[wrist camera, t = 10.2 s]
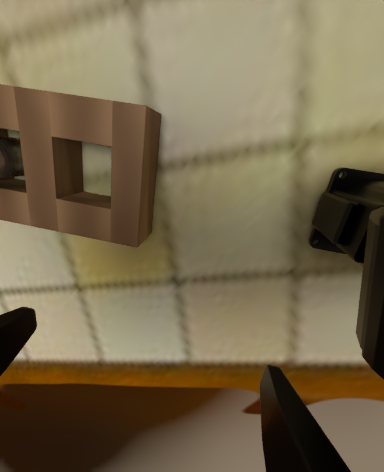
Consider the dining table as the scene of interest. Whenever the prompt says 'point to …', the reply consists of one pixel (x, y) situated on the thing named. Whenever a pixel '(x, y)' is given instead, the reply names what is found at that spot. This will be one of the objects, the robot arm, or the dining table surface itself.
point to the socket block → (80, 164)
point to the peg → (11, 157)
